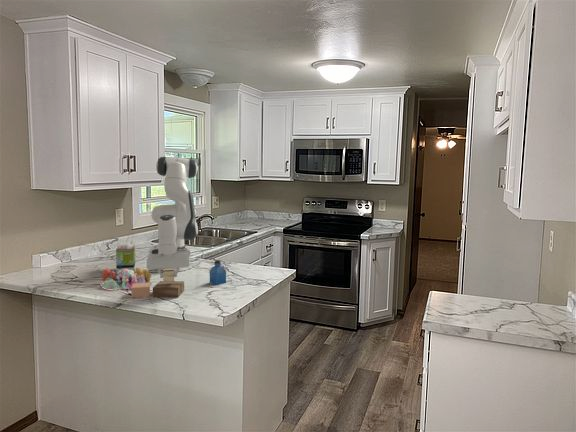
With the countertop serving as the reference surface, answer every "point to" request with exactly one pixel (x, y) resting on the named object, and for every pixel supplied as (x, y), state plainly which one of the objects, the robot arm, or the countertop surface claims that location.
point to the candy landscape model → (125, 278)
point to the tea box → (125, 257)
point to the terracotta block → (140, 290)
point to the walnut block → (168, 289)
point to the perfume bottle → (217, 273)
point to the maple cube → (168, 275)
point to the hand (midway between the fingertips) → (168, 277)
